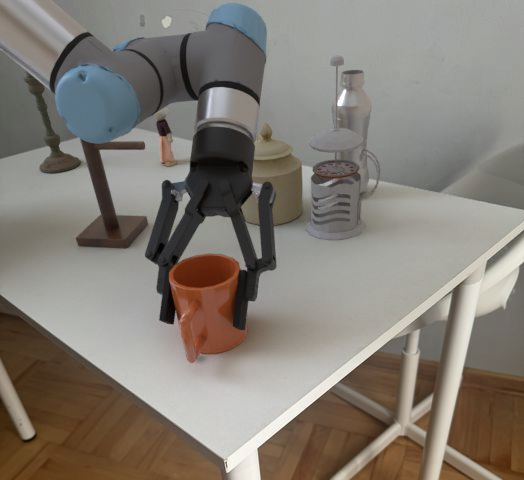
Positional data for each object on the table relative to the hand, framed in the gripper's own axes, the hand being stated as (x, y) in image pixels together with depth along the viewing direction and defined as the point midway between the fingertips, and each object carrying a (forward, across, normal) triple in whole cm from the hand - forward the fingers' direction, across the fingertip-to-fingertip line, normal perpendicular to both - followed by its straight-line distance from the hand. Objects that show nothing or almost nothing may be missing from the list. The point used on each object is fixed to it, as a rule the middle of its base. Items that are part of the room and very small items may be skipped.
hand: (202, 325), depth 62 cm
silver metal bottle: (-31, -12, -37) cm, 50 cm away
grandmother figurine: (-41, +29, -47) cm, 69 cm away
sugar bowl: (-26, +2, -31) cm, 41 cm away
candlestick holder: (-40, +55, -45) cm, 82 cm away
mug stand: (-17, +24, -23) cm, 37 cm away
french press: (-22, -12, -27) cm, 37 cm away
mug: (+2, 0, -4) cm, 4 cm away
